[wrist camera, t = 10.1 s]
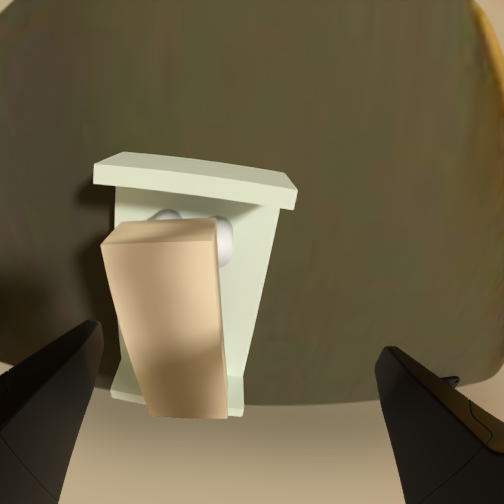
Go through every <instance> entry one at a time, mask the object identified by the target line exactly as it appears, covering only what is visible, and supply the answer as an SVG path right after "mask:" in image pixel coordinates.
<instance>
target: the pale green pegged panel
mask: <svg viewBox="0 0 504 504" xmlns="http://www.w3.org/2000/svg"><path fill="white" fill-rule="evenodd" d="M93 184H102V185H112V186H116V194H115V228H116V227H117V226H118V225H119V224H120V223H121V222H125V221H144V220H164V219H188V218H215V217H216V222H217V241H218V259H219V275H220V290H221V305H222V319H223V332H224V345H225V357H226V369H227V380H228V416H240V417H242V415H243V411H244V393H243V373H244V369H245V365H246V360H247V356H248V352H249V347H250V343H251V339H252V334H253V330H254V325H255V321H256V317H257V312H258V308H259V303H260V299H261V294H262V290H263V285H264V281H265V276H266V271H267V267H268V262H269V258H270V253H271V248H272V244H273V239H274V234H275V230H276V225H277V220H278V216H279V211H280V208H284V209H290V210H294V206H295V201H296V196H297V192H298V190H297V189H296V187H295V186H294V185H293V183H292V182H291V181H290V180H289V178H288V177H287V176H286V174H285V173H282V172H277V171H271V170H265V169H259V168H253V167H247V166H240V165H234V164H227V163H220V162H213V161H205V160H198V159H190V158H181V157H173V156H163V155H154V154H143V153H132V152H122V153H119V154H117V155H114V156H112V157H110V158H107V159H105V160H102V161H100V162H98V163H95V164H94V177H93ZM118 329H119V339H120V349H121V358H122V359H121V361H120V364H119V367H118V370H117V372H116V375H115V378H114V380H113V383H112V386H111V389H110V391H111V395H112V398H116V399H121V400H125V401H130V402H135V403H141V404H146V402H145V400H144V397H143V394H142V392H141V389H140V386H139V383H138V380H137V378H136V375H135V372H134V369H133V366H132V363H131V360H130V357H129V354H128V351H127V347H126V344H125V341H124V338H123V334H122V331H121V327H120V324H119V320H118Z"/></svg>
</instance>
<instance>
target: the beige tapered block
mask: <svg viewBox="0 0 504 504" xmlns="http://www.w3.org/2000/svg"><path fill="white" fill-rule="evenodd" d="M101 250H102V255H103V260H104V264H105V269H106V273H107V278H108V282H109V286H110V290H111V294H112V298H113V302H114V306H115V309H116V313H117V317H118V320H119V324H120V327H121V331H122V334H123V338H124V341H125V344H126V347H127V351H128V354H129V357H130V360H131V363H132V366H133V369H134V372H135V375H136V378H137V380H138V383H139V386H140V389H141V392H142V394H143V397H144V400H145V402H146V405H147V407H148V410H149V412H150V415H151V416H156V417H172V418H203V419H227V418H228V380H227V369H226V357H225V345H224V332H223V319H222V305H221V290H220V275H219V259H218V241H217V222H216V217H215V218H188V219H164V220H144V221H125V222H121V223H120V224H119V225H118V226H117V227H116V228H115V229H114V230H113V231H112V232H111V234H110V235H109V236H108V237H107V238H106V239H105V240H104V241H103V242H102V244H101Z"/></svg>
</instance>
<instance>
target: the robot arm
mask: <svg viewBox="0 0 504 504" xmlns="http://www.w3.org/2000/svg"><path fill="white" fill-rule="evenodd" d="M103 349H104V340H103V333H102V327H101V324H100V322H98V321H93V320H86V321H85V322H83V323H81V324H80V325H78V326H77V327H75V328H73V329H72V330H70V331H69V332H67V333H65V334H64V335H62V336H61V337H59V338H57V339H56V340H54V341H53V342H51V343H50V344H48V345H46V346H45V347H43V348H42V349H40V350H39V351H37V352H35V353H34V354H32V355H31V356H29V357H28V358H26V359H25V360H23V361H21V362H20V363H18V364H17V365H15V366H14V367H12V368H11V369H9V371H6V372H4V373H3V374H1V375H0V504H58V501H59V498H60V494H61V490H62V487H63V483H64V479H65V476H66V472H67V468H68V465H69V461H70V458H71V455H72V451H73V449H74V445H75V442H76V439H77V436H78V433H79V429H80V427H81V424H82V421H83V418H84V415H85V412H86V409H87V406H88V403H89V400H90V398H91V395H92V392H93V389H94V385H95V381H96V377H97V373H98V369H99V365H100V361H101V357H102V353H103ZM375 375H376V381H377V386H378V391H379V397H380V403H381V407H382V412H383V415H384V419H385V422H386V426H387V430H388V433H389V437H390V441H391V445H392V448H393V452H394V456H395V460H396V464H397V468H398V472H399V476H400V481H401V485H402V489H403V494H404V499H405V503H406V504H504V422H502V421H501V420H499V419H497V418H496V417H494V416H493V415H491V414H490V413H488V412H486V411H485V410H484V409H482V408H481V407H479V406H478V405H476V404H475V403H474V402H472V401H471V400H468V398H467V397H465V396H464V395H463V394H461V393H460V392H458V391H457V390H456V389H454V388H455V387H456V385H457V384H458V383H459V381H460V379H459V377H458V376H456V377H448V378H439V377H438V376H436V375H435V374H434V373H432V372H431V371H429V370H428V369H427V368H425V367H424V366H423V365H421V364H420V363H418V362H417V361H416V360H414V359H413V358H411V357H410V356H409V355H407V354H406V353H405V352H403V351H402V350H400V349H399V348H398V347H396V346H386V347H384V348H383V350H382V352H381V354H380V356H379V358H378V360H377V362H376V364H375Z"/></svg>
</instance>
